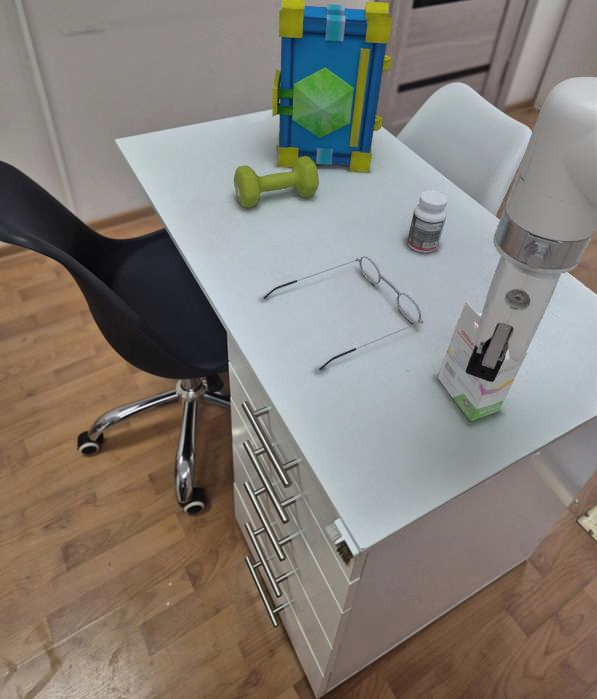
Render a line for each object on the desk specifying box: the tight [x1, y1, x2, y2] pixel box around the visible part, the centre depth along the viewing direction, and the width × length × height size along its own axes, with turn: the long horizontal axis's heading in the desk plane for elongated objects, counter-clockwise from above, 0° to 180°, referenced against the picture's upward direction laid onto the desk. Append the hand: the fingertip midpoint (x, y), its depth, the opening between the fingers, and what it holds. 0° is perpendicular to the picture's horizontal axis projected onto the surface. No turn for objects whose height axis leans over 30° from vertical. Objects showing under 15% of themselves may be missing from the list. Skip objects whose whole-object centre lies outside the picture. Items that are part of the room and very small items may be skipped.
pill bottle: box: [407, 189, 448, 254], centre depth 98 cm, size 6×6×10 cm
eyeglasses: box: [263, 255, 424, 371], centre depth 86 cm, size 18×19×4 cm
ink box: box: [437, 301, 528, 422], centre depth 71 cm, size 9×5×15 cm, turn 22°
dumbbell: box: [233, 156, 320, 209], centre depth 108 cm, size 16×8×7 cm, turn 112°
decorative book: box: [271, 0, 393, 173], centre depth 112 cm, size 14×23×30 cm, turn 88°
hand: (480, 372), depth 61 cm, fingers closed
